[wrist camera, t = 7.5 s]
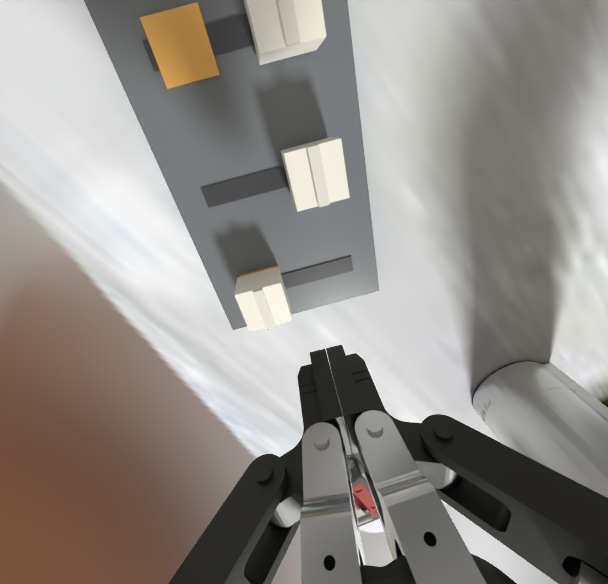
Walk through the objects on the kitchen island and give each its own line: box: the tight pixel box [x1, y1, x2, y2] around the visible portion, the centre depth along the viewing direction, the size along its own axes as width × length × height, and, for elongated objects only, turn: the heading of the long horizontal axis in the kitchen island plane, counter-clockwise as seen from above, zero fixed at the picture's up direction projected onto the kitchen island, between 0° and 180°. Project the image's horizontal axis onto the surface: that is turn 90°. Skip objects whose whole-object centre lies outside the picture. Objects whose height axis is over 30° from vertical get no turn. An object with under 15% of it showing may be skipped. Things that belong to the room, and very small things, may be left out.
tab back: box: [235, 266, 292, 332], centre depth 20 cm, size 3×3×3 cm
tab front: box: [244, 0, 326, 65], centre depth 13 cm, size 3×3×3 cm
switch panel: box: [84, 0, 379, 330], centre depth 19 cm, size 12×20×2 cm, turn 13°
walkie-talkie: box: [347, 433, 380, 527], centre depth 37 cm, size 9×4×20 cm
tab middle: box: [281, 137, 350, 212], centre depth 16 cm, size 3×3×3 cm
